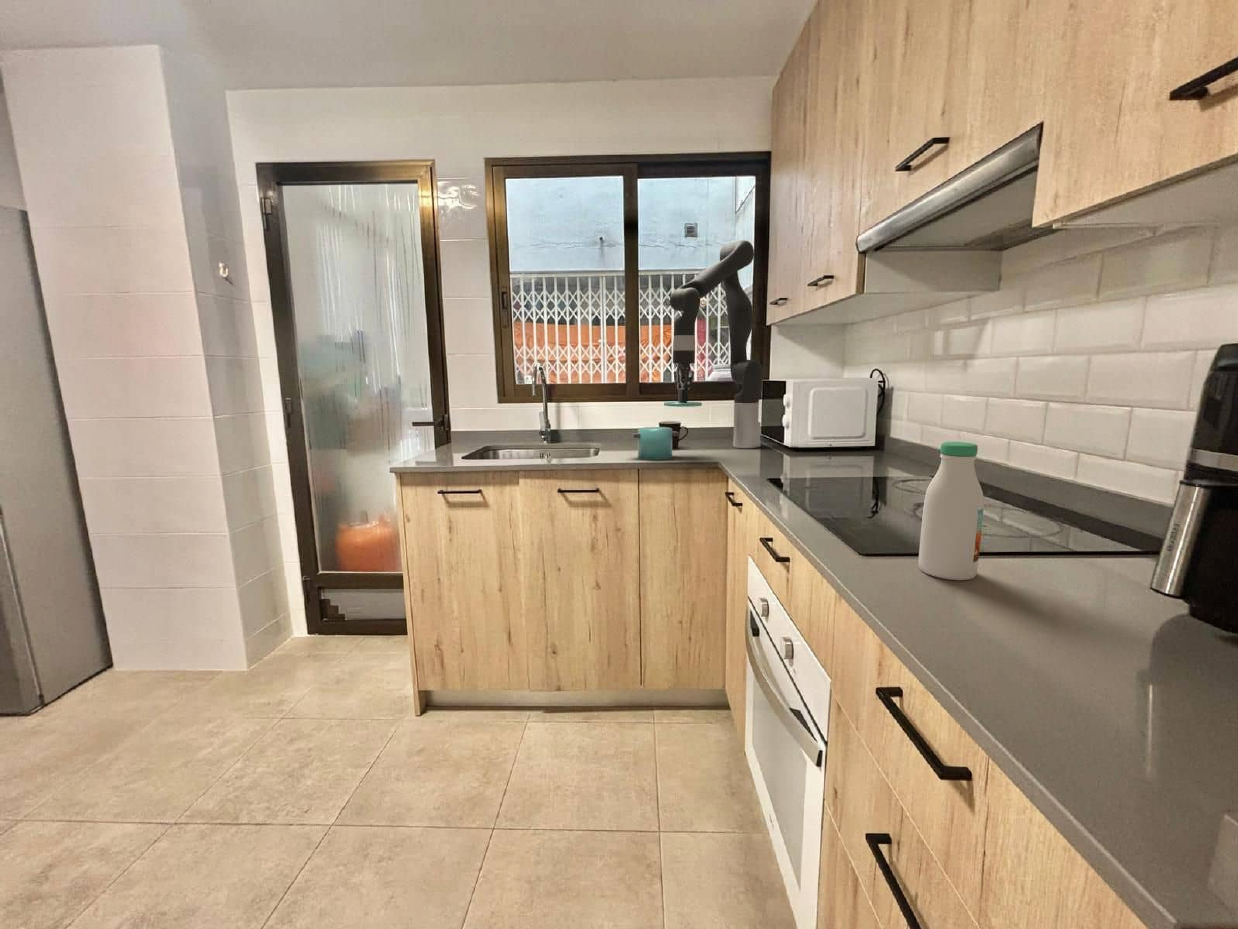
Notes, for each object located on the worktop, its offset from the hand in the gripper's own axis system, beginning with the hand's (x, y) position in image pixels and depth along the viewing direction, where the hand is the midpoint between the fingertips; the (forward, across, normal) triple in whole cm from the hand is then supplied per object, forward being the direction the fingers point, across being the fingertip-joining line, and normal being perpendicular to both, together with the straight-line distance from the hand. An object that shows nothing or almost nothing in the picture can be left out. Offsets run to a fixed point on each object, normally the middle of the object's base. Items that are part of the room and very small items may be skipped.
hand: (682, 400), depth 185 cm
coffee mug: (+20, +19, -3) cm, 28 cm away
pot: (+20, +2, +9) cm, 22 cm away
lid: (+2, 0, 0) cm, 2 cm away
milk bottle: (+21, -112, -2) cm, 114 cm away
